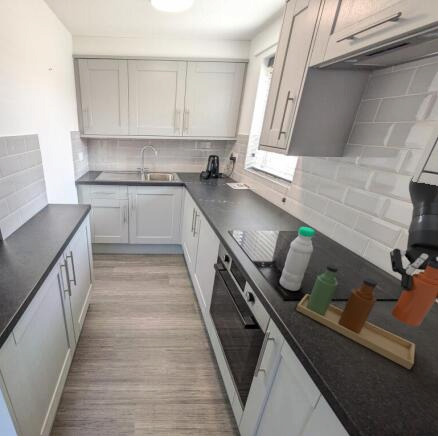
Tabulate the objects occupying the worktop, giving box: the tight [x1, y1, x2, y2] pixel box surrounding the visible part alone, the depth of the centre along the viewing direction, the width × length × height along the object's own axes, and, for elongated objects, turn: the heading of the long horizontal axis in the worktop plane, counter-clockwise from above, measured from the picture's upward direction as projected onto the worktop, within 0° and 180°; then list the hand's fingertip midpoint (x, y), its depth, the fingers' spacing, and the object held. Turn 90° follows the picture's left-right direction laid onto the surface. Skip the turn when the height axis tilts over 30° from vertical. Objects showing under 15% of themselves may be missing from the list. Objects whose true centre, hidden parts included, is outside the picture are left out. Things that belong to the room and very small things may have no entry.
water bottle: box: [279, 226, 315, 292], centre depth 87 cm, size 7×7×25 cm
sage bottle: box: [307, 263, 339, 316], centre depth 75 cm, size 5×5×18 cm
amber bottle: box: [338, 277, 378, 334], centre depth 69 cm, size 5×5×18 cm
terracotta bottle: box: [391, 260, 438, 327], centre depth 59 cm, size 5×5×18 cm
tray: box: [295, 293, 416, 370], centre depth 72 cm, size 27×9×2 cm, turn 41°
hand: (424, 294), depth 57 cm, fingers closed on terracotta bottle, 5 cm apart
